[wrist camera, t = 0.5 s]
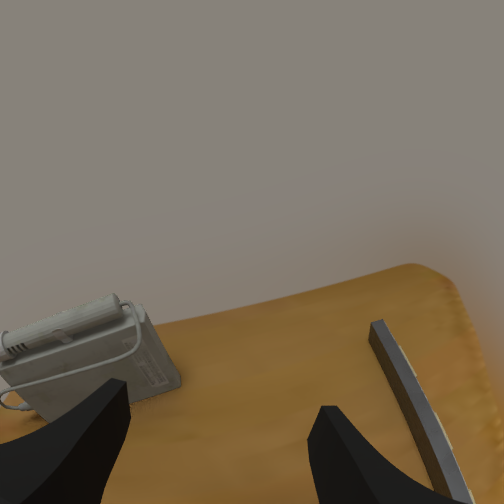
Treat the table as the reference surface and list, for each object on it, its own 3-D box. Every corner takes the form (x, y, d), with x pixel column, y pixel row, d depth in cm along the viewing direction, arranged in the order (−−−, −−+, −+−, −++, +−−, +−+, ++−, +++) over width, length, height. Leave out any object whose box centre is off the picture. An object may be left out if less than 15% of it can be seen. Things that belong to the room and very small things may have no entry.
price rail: (479, 557, 7) (496, 555, 5) (459, 570, 7) (475, 569, 5) (383, 335, 33) (387, 317, 31) (368, 340, 33) (370, 322, 31)
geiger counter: (131, 270, 28) (-36, 337, 21) (135, 309, 22) (-51, 373, 16) (176, 361, 35) (25, 406, 29) (188, 400, 30) (22, 442, 23)
